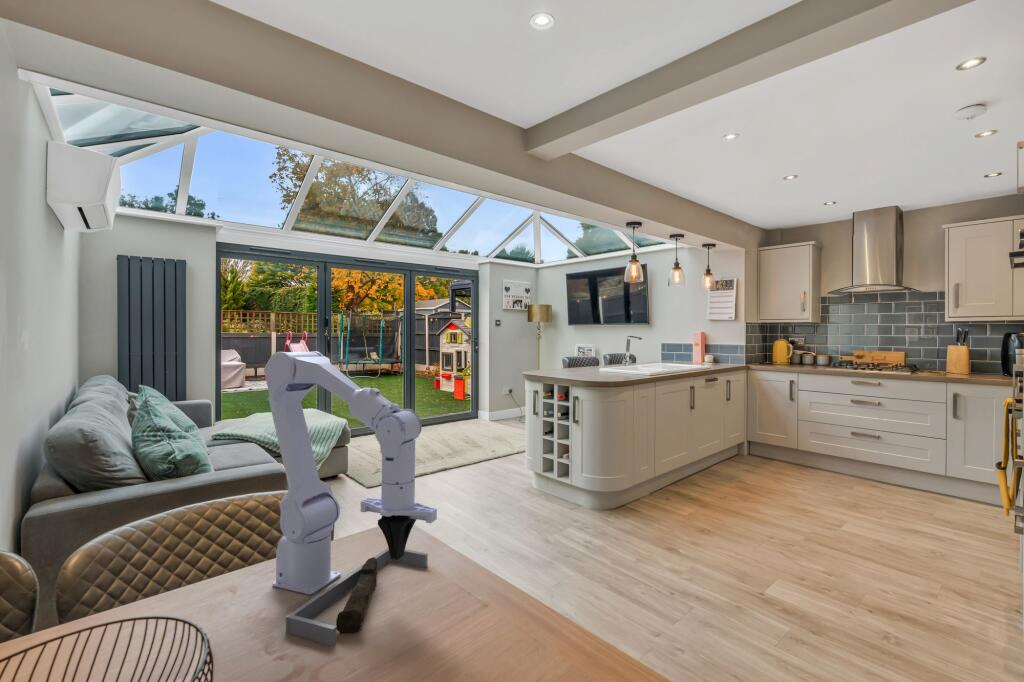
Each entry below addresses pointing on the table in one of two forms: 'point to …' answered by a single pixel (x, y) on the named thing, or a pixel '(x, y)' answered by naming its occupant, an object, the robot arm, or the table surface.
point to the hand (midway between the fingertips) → (397, 556)
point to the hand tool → (358, 600)
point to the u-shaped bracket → (326, 633)
